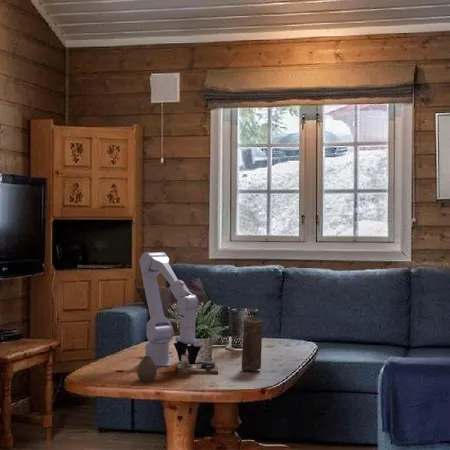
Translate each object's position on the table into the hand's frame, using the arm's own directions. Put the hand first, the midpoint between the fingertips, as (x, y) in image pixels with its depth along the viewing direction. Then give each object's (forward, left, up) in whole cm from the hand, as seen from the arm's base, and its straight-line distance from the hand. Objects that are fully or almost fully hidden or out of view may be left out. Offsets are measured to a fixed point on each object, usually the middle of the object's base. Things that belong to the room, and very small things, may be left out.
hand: (186, 362), depth 342 cm
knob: (0, 0, -1) cm, 1 cm away
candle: (+24, 0, -3) cm, 25 cm away
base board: (+4, 0, -3) cm, 5 cm away
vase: (-14, -21, -3) cm, 26 cm away
